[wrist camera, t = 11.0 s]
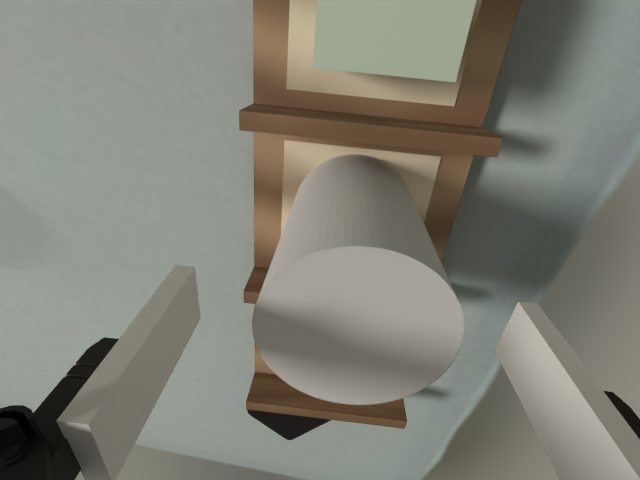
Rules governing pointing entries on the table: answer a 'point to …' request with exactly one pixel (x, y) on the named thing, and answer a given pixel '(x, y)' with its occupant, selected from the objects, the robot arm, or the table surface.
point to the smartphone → (287, 423)
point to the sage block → (393, 37)
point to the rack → (359, 149)
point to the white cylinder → (357, 290)
